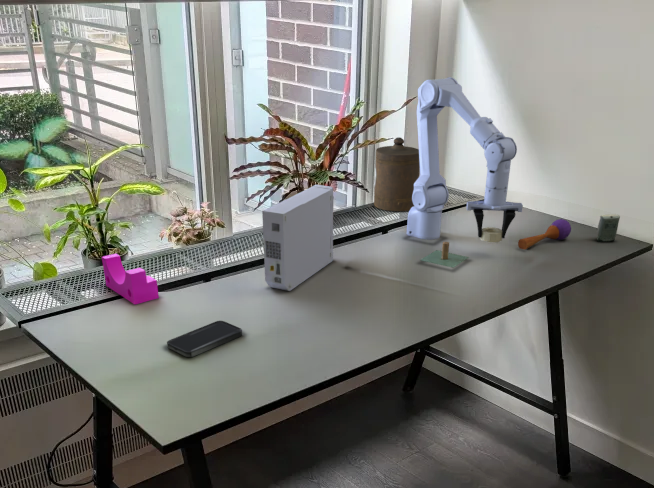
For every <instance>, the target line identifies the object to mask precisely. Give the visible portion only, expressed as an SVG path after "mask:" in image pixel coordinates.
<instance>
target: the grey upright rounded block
mask: <svg viewBox="0 0 654 488" xmlns="http://www.w3.org/2000/svg"><path fill="white" fill-rule="evenodd" d="M620 218H621V215H620V214H616V213H615V214H611V213H610V214H601V215H600V216H599V221H598V225H597V231H596V232H597V233H596V242H597V243H608V242H609V243H610V242H615V240H616V237H617V233H618V228H619V223H620Z"/></svg>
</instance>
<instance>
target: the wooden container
mask: <svg viewBox="0 0 654 488" xmlns="http://www.w3.org/2000/svg"><path fill="white" fill-rule="evenodd" d="M404 144H405V140H404V139H403V138H402V137H399V136H398V137H395V138H394V139H393V145H386V146H380V147H378V148H376V149H375V168H374V169H375V170H374V189H373V206H374V207H375V208H377V209H379V210H383V211H388V212H407V211H408V212H409V211H410V209H411V208H412V207H413V206H414V204H413V201H412V195H413V191H414V183H415V182H416V180H417V179H418V178H419V177H420V161H419V148H416V147H413V146H407V145H406V146H405V145H404Z"/></svg>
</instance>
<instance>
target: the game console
mask: <svg viewBox="0 0 654 488" xmlns="http://www.w3.org/2000/svg"><path fill="white" fill-rule="evenodd" d="M261 213H262V214H261V215H262V235H263V236H262V237H263V259H264V261H263V262H264V263H263V264H264V281H265V283H266V284H267V286H268V287H269V288H273V289H276V290H277V289H278V290H282V291H288V292H291V291H292V290H293V289H295V288H296V287H297V286H299V285H300V284H302V283H304V281H306V280H308V279H309V278H310V277H312V276H313V275H315V274H316V273H318V272H319V271H320V270H322V269H323V268H325V267H326V266H328V265H329V264H330V263H332V262H333V261H334V187H333V186H329V185H323V184H314V185H312V186H310V187H309V188H307V189H304V190H302V191H300V192H298V193H295V194H294V195H292V196H290V197H288V198H286V199H284V200H282V201H280V202H277V203H276V204H274V205H272V206H270V207H268V208H265V209H262V210H261Z"/></svg>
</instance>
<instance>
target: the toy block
mask: <svg viewBox="0 0 654 488" xmlns="http://www.w3.org/2000/svg"><path fill="white" fill-rule="evenodd" d="M101 261H102V267H103V275H104V281H105V286H106V287H107V288H109V289H110V290H112V291H113V292H115V293H116V294H117V295H119V296H121V297H123V298H124V299H125V300H127V301H128V302H130V303H131V304H132V305H138V304H139V305H140V304H142V303H146V302H150V301H153V300H157V299H159V298H160V296H159V286H158V280H157V279H155V278H153V277H152V276H150V275H147V271H146V270H145V269H144V268H142V267H136V268H132V269H127V270H126V269H125V267H124V266H123V263H122V259H121V256H120V255H119V254H118V253H112V254H108V255H103V256H101Z"/></svg>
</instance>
